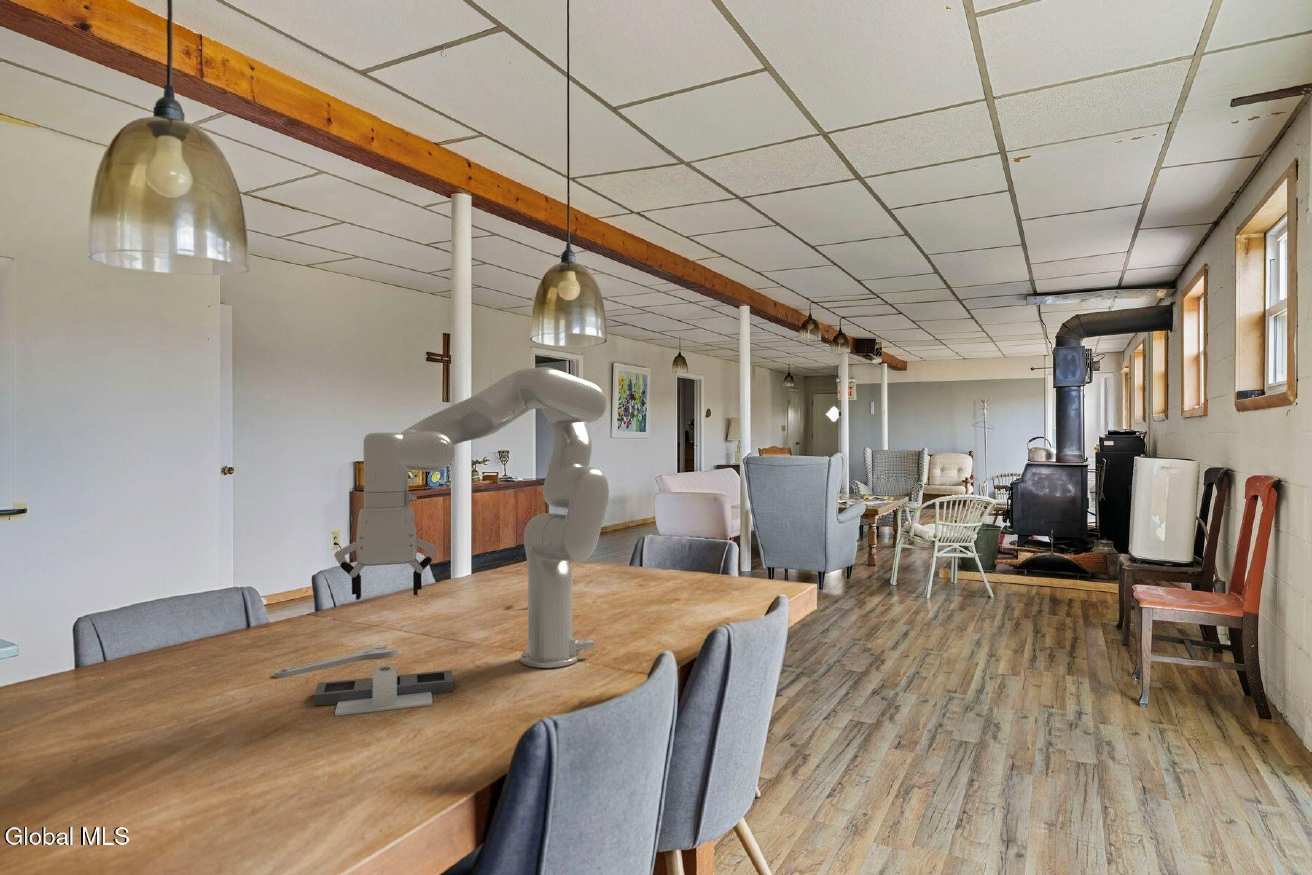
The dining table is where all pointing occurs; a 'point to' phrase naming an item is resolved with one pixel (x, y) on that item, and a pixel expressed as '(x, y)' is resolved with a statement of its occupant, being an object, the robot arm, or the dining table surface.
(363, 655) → the adjustable wrench
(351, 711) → the mat
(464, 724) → the dining table surface
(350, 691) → the rail
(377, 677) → the grey post with hole
